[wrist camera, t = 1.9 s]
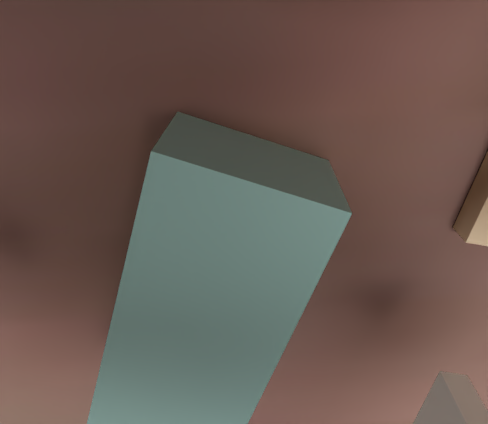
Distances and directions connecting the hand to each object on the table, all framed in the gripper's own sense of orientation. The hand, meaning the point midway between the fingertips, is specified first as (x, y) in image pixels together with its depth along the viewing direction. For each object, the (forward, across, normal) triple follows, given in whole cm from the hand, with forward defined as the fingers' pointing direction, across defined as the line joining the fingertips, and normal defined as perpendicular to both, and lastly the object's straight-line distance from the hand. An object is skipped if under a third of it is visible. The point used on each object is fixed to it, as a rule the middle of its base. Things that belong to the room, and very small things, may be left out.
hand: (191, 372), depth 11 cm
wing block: (+5, 0, 0) cm, 5 cm away
